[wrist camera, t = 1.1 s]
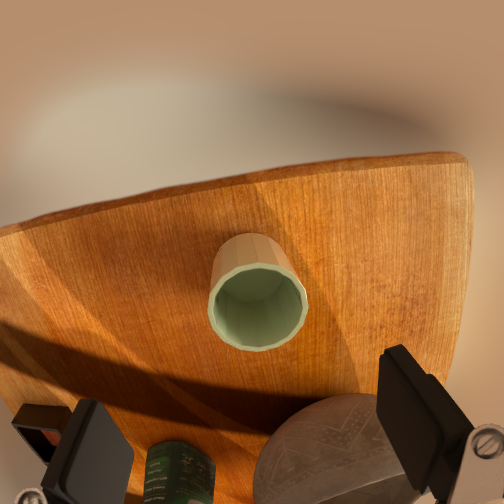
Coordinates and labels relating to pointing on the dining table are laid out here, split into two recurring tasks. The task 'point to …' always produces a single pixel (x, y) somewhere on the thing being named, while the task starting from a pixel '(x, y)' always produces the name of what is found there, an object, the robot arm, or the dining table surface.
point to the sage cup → (255, 294)
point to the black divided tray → (42, 427)
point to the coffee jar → (178, 475)
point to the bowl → (332, 458)
